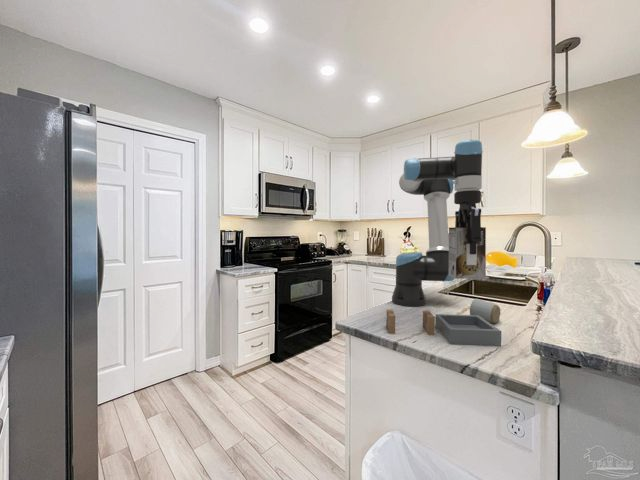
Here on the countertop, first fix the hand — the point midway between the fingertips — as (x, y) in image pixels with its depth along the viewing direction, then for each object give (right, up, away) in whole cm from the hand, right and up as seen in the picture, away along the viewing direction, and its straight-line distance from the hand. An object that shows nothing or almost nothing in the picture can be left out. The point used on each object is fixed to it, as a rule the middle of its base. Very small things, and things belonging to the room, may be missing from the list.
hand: (466, 263), depth 87 cm
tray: (0, -24, +1) cm, 24 cm away
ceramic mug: (+16, -23, +16) cm, 32 cm away
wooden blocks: (-16, -23, +6) cm, 29 cm away
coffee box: (0, -5, 0) cm, 5 cm away
